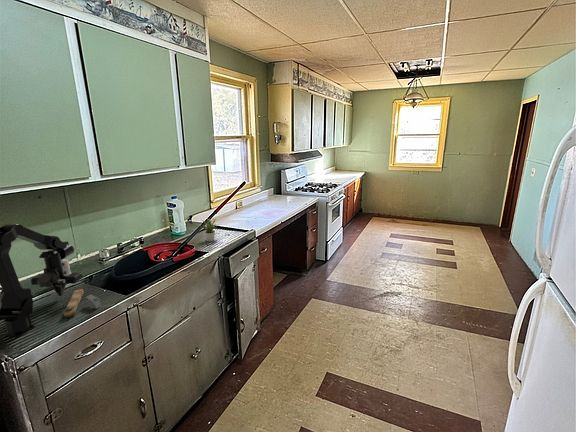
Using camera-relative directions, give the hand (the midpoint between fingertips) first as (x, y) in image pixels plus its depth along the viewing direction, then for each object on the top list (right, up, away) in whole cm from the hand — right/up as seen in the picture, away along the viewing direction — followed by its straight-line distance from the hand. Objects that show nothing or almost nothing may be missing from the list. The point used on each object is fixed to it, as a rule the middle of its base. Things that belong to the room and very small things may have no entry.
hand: (60, 295), depth 135 cm
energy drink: (-10, +2, +16) cm, 19 cm away
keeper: (+18, -3, -5) cm, 19 cm away
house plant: (+48, +19, +77) cm, 92 cm away
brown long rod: (+10, -3, -5) cm, 11 cm away
